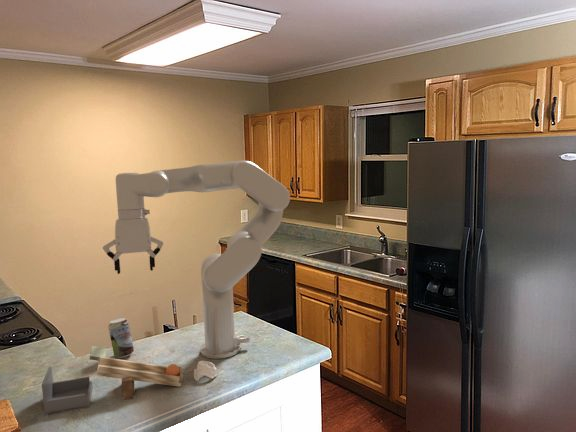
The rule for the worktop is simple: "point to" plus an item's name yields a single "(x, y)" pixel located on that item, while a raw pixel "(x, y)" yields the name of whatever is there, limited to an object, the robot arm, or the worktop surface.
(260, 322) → the worktop surface
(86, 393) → the bin
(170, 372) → the ball
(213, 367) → the grey hollow rounded piece
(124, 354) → the beverage can
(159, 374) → the lever
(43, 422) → the worktop surface
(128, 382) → the fulcrum
